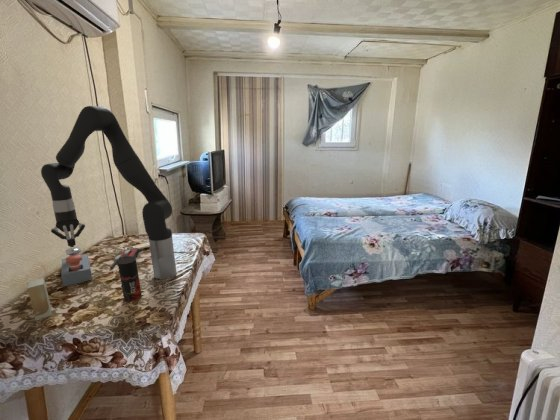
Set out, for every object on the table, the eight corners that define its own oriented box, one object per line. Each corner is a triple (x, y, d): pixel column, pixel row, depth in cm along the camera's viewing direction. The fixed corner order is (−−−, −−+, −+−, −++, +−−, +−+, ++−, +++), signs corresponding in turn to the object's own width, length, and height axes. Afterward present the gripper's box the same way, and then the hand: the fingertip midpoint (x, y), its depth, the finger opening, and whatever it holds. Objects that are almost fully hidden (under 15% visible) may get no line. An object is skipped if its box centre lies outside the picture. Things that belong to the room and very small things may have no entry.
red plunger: (84, 271, 125) (81, 257, 123) (68, 275, 122) (65, 261, 120) (84, 267, 129) (81, 253, 127) (68, 270, 126) (65, 256, 124)
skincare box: (36, 312, 103) (27, 280, 99) (51, 307, 105) (44, 276, 102) (35, 321, 98) (26, 288, 94) (51, 316, 100) (43, 283, 97)
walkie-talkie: (122, 253, 153) (108, 270, 134) (121, 245, 152) (107, 261, 133) (140, 252, 155) (129, 268, 136) (139, 244, 154) (127, 259, 135)
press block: (92, 279, 125) (90, 268, 124) (63, 286, 120) (61, 275, 119) (89, 263, 141) (87, 253, 140) (64, 269, 136) (61, 259, 134)
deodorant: (130, 303, 107) (123, 265, 103) (120, 298, 110) (114, 261, 106) (144, 295, 112) (139, 259, 108) (135, 291, 115) (129, 256, 111)
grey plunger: (83, 263, 133) (80, 249, 132) (68, 266, 130) (65, 252, 129) (82, 259, 138) (80, 246, 136) (68, 262, 135) (65, 249, 133)
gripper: (44, 213, 121) (53, 252, 125) (83, 208, 128) (90, 245, 133) (45, 210, 127) (54, 247, 131) (82, 205, 134) (89, 241, 139)
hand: (72, 246), depth 132 cm, fingers closed
